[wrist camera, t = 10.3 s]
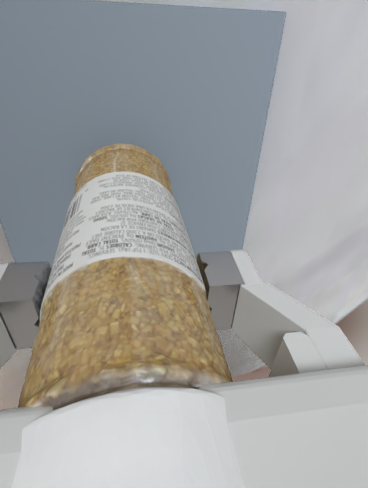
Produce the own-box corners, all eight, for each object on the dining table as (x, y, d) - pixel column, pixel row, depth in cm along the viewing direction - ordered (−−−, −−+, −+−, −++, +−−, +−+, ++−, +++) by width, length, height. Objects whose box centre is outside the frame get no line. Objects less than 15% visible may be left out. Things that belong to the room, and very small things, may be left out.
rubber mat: (-72, -8, 12) (-84, -10, 11) (278, 12, 14) (286, 11, 13) (25, 273, 20) (22, 281, 19) (235, 260, 22) (238, 267, 21)
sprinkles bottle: (137, 240, 17) (172, 634, 6) (56, 198, 14) (-124, 698, 4) (189, 175, 15) (373, 556, 4) (107, 116, 13) (49, 591, 2)
